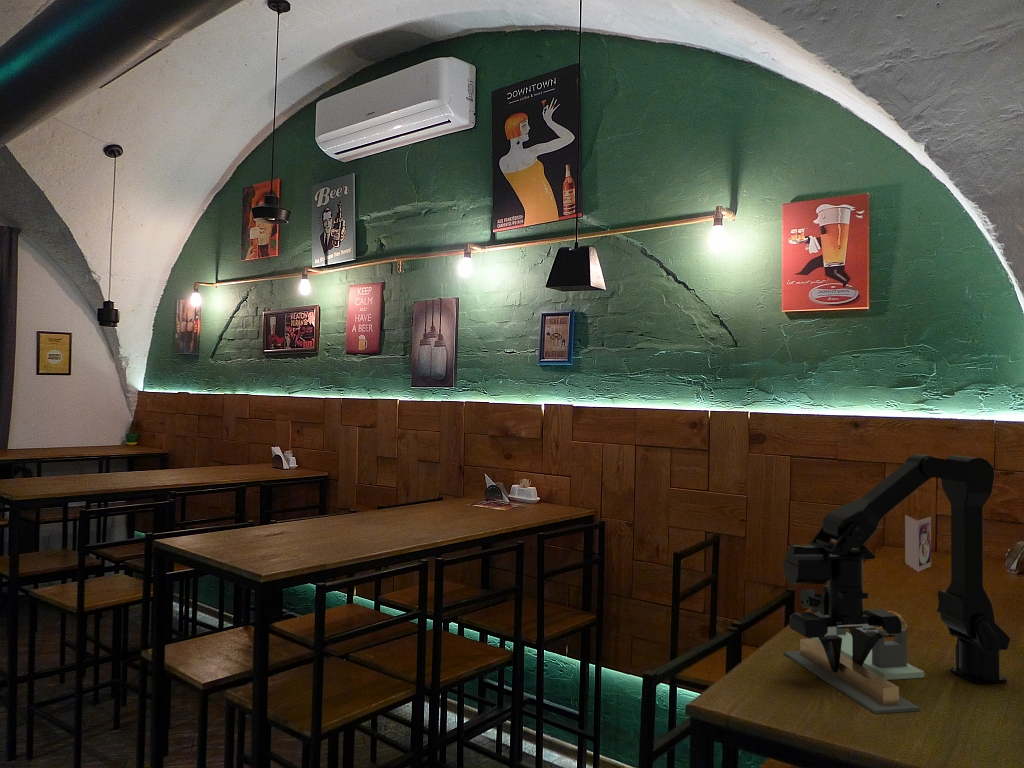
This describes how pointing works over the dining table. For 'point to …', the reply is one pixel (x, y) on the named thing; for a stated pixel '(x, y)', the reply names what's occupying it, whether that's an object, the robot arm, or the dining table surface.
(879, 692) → the copper rail
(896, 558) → the dining table surface
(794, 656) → the rubber mat
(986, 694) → the dining table surface
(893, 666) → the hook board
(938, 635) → the dining table surface
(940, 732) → the dining table surface
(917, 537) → the greeting card
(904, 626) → the pastry
